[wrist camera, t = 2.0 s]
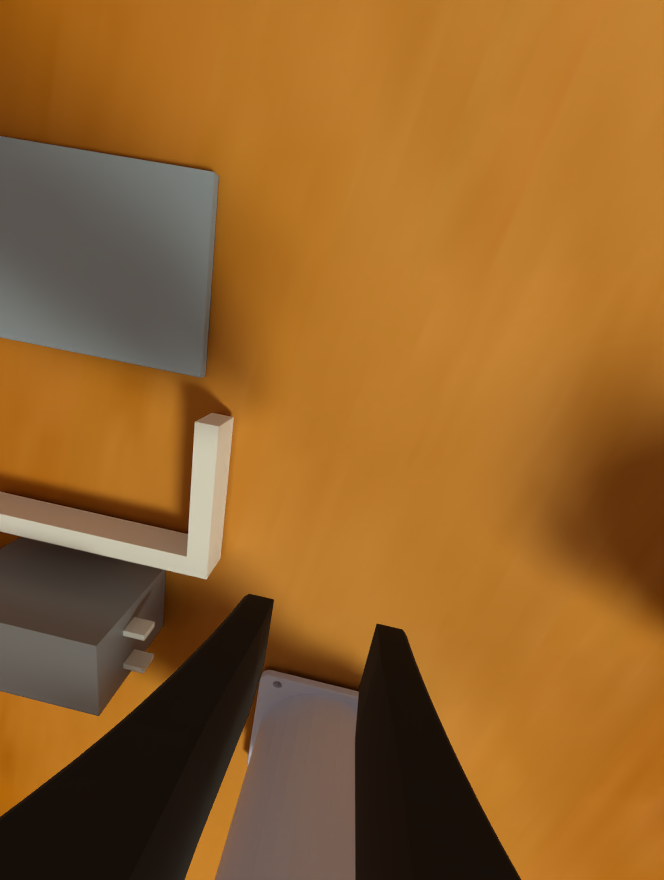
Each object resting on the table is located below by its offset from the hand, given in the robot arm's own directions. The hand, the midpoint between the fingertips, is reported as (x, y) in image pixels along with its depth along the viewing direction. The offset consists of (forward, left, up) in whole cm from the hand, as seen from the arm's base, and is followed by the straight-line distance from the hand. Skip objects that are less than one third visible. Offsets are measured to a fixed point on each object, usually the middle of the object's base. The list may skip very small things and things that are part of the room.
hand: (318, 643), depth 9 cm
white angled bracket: (+11, +1, -8) cm, 14 cm away
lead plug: (+14, +8, -8) cm, 19 cm away
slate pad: (+13, -8, -8) cm, 17 cm away
